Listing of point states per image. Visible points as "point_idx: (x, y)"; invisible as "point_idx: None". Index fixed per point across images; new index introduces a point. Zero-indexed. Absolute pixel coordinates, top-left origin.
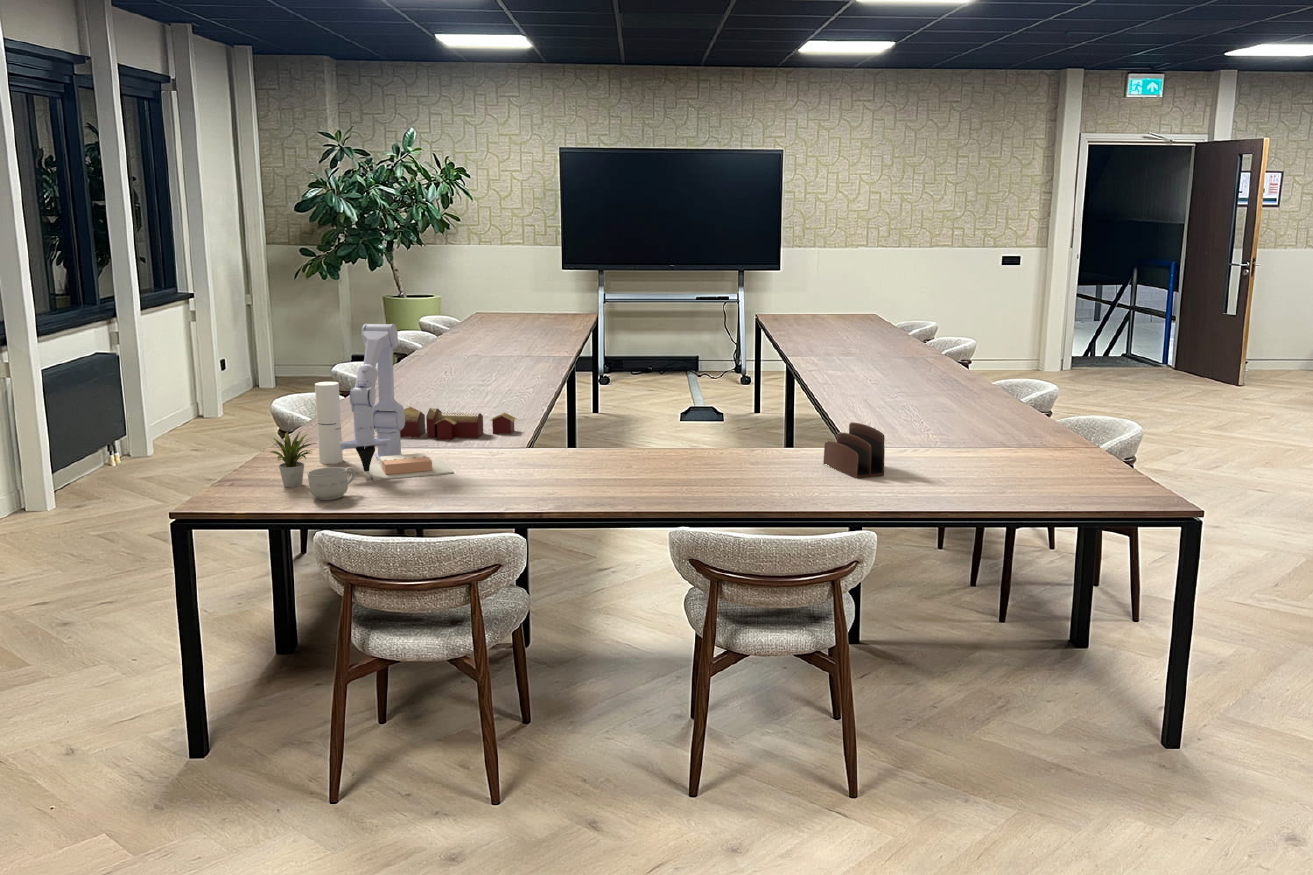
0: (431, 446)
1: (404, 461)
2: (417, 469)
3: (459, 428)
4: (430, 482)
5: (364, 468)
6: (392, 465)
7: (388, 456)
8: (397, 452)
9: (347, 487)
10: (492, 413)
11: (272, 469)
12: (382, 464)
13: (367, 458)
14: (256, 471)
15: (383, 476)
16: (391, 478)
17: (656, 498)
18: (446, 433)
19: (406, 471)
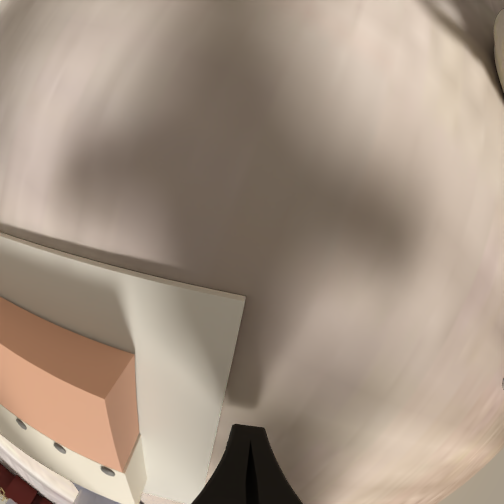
0: (35, 480)
1: (5, 374)
2: None
3: (3, 480)
4: (9, 86)
5: (268, 442)
6: (61, 370)
7: (96, 490)
8: (82, 499)
9: (500, 15)
10: None
11: (423, 501)
12: (130, 458)
13: (243, 500)
14: (450, 488)
15: (157, 326)
16: (116, 268)
17: None
18: (19, 487)
19: (26, 315)
